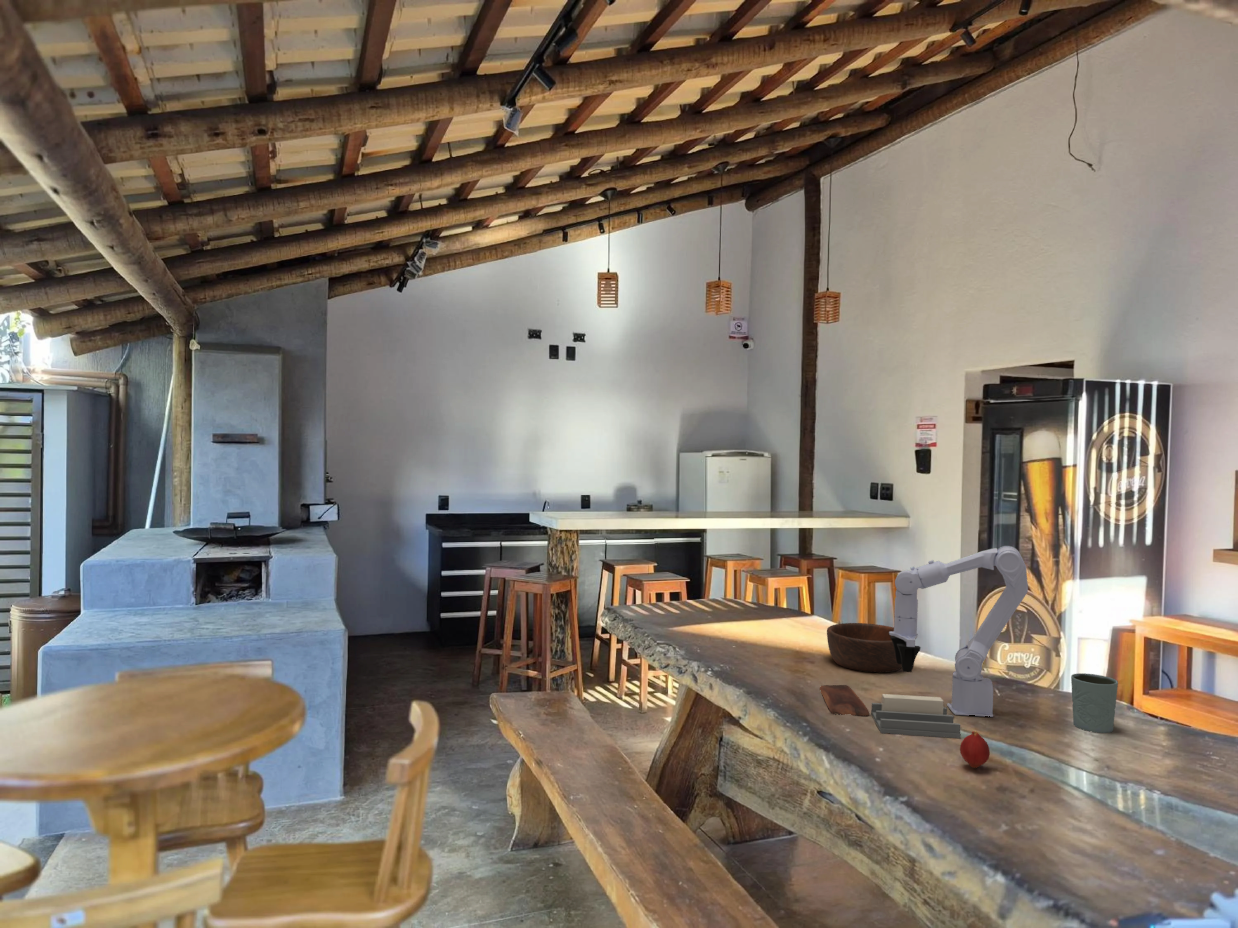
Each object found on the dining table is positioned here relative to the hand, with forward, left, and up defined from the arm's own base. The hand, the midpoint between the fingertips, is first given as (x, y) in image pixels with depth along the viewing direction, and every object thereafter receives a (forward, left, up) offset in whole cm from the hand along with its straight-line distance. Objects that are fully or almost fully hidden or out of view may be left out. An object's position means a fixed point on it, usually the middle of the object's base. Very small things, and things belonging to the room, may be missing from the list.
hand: (904, 667), depth 221 cm
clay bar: (+1, +15, -8) cm, 17 cm away
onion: (-6, +43, -10) cm, 44 cm away
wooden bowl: (+3, -38, -10) cm, 39 cm away
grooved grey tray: (+1, +18, -9) cm, 20 cm away
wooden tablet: (+16, 0, -10) cm, 19 cm away
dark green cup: (-43, +10, -10) cm, 45 cm away
